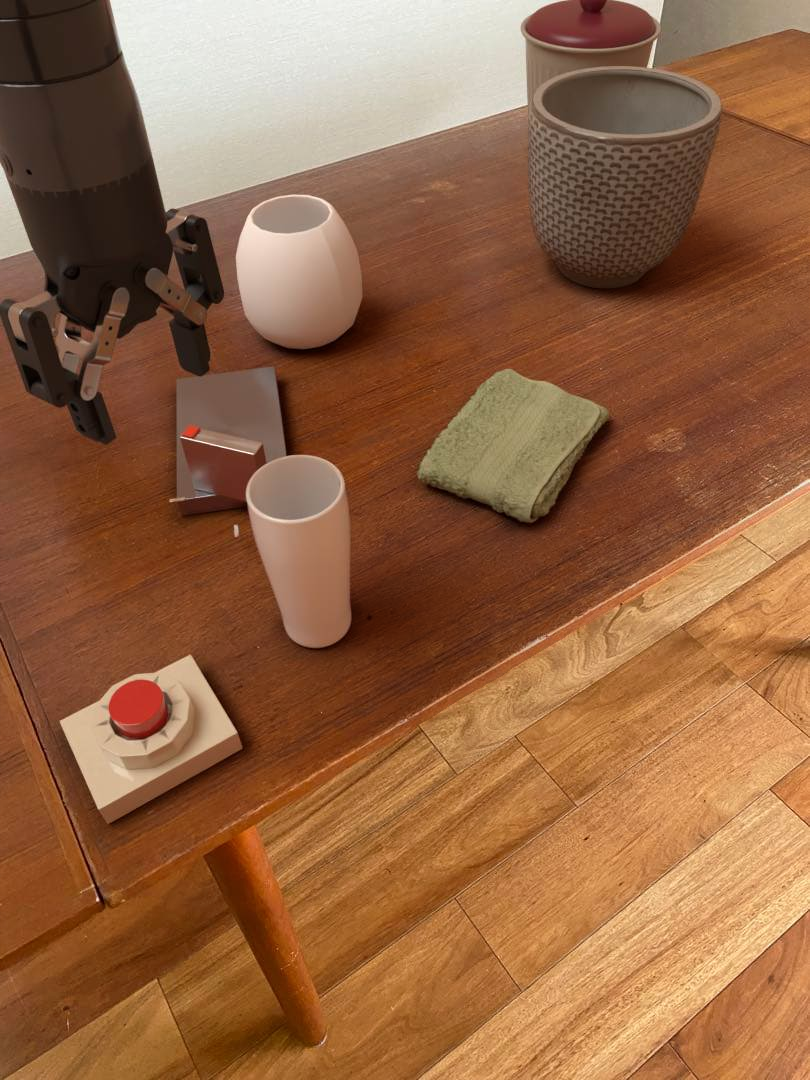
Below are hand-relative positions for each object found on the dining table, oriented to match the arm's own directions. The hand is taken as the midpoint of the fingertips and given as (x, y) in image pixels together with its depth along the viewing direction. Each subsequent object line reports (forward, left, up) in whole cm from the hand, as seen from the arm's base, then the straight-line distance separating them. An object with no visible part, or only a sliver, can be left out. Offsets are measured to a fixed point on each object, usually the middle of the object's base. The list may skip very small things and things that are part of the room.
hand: (151, 403), depth 57 cm
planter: (+41, -48, -20) cm, 66 cm away
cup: (+36, -12, -20) cm, 43 cm away
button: (-14, +4, -16) cm, 21 cm away
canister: (+72, -55, -20) cm, 93 cm away
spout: (+9, -3, -17) cm, 20 cm away
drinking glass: (-5, -8, -20) cm, 22 cm away
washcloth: (+11, -29, -20) cm, 37 cm away
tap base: (+15, -3, -19) cm, 25 cm away
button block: (-14, +4, -19) cm, 24 cm away
